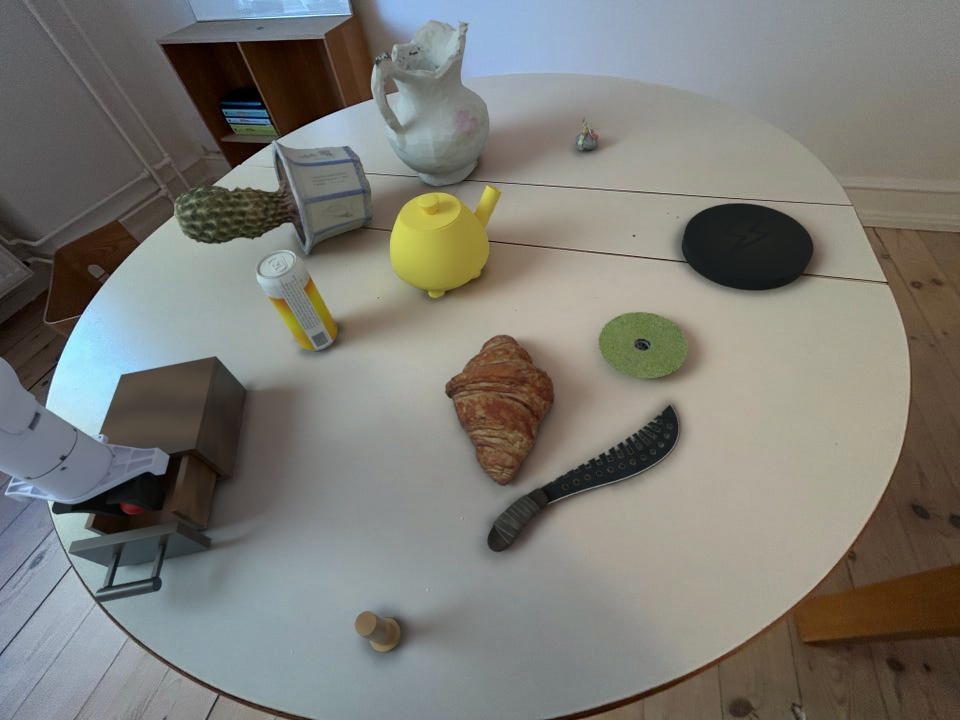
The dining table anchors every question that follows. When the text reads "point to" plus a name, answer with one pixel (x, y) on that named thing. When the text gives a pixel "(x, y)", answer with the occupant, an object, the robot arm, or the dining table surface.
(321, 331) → the yellow two-tone cylinder
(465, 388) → the pastry
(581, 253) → the dining table surface
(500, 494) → the dining table surface
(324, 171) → the potted plant
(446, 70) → the ceramic pitcher
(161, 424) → the cabinet
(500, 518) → the knife
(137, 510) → the ball
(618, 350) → the green disc
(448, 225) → the teapot
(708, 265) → the wireless charger
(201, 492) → the drawer
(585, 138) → the figurine
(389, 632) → the flanged wooden peg
